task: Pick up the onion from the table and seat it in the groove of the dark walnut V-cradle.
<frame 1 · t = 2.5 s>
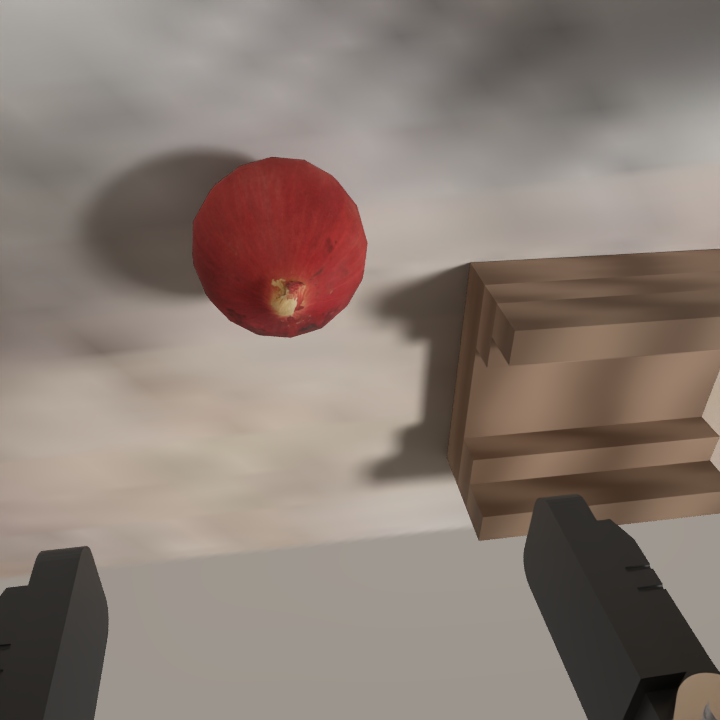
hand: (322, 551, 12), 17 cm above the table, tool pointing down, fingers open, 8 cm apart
onion: (274, 206, 26), on the table
walnut V-cradle: (578, 360, 32), on the table
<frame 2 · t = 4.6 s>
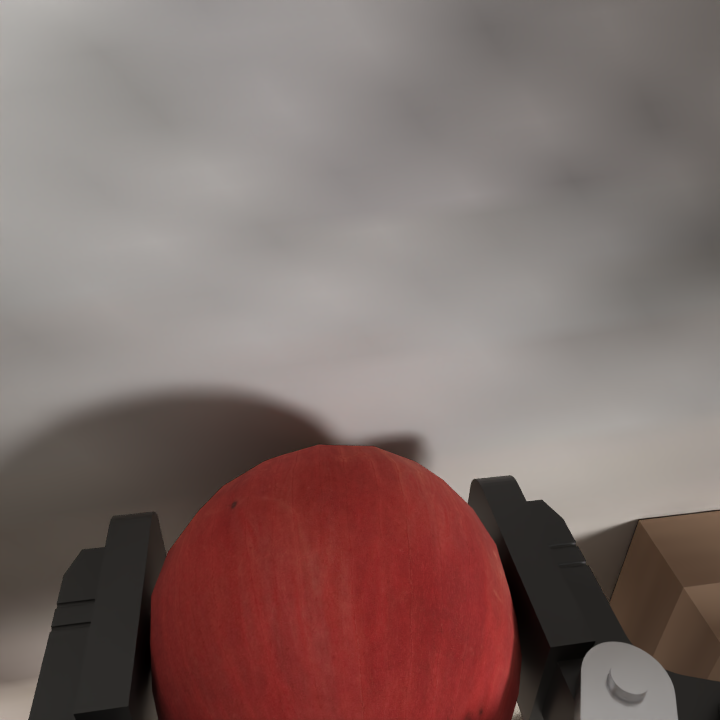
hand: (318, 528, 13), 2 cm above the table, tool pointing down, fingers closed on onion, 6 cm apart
onion: (311, 463, 14), on the table, touching gripper
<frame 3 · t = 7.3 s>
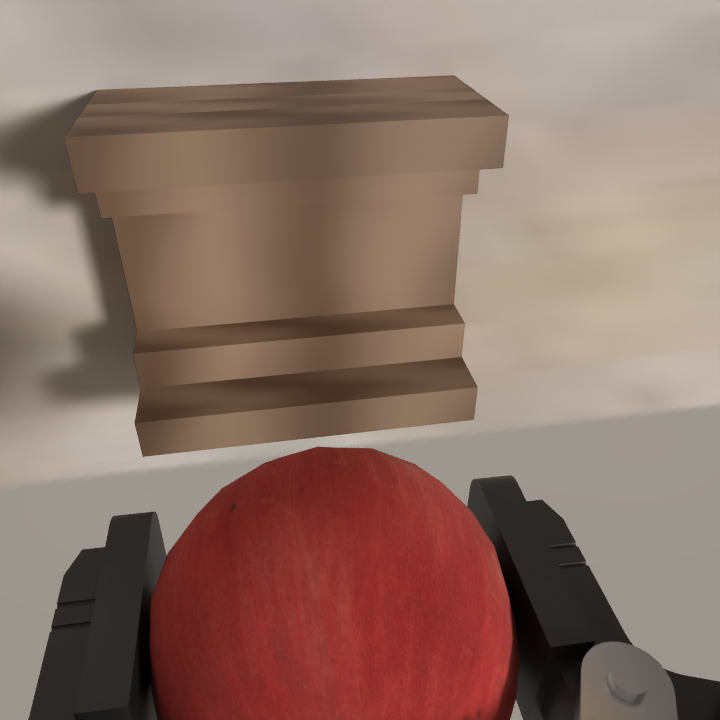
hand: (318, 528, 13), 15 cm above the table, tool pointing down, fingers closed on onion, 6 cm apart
onion: (311, 465, 14), point 14 cm above the table, touching gripper
walnut V-cradle: (292, 234, 26), on the table
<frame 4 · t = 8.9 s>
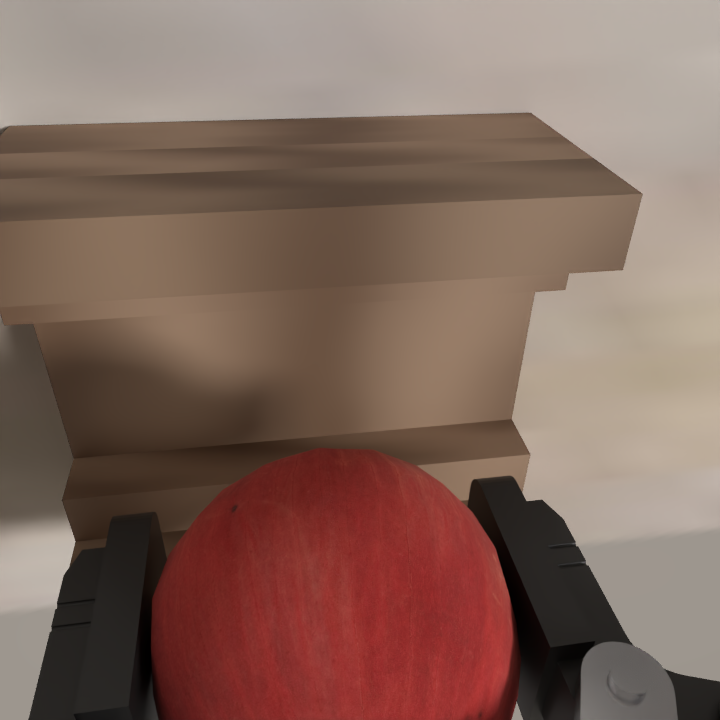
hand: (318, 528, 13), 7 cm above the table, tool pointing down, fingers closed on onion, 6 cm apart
onion: (311, 466, 14), point 6 cm above the table, touching gripper
walnut V-cradle: (293, 322, 19), on the table
when the fingers open (5 cm above the table, at t = 10.2 s): onion drops 2 cm, resting on walnut V-cradle.
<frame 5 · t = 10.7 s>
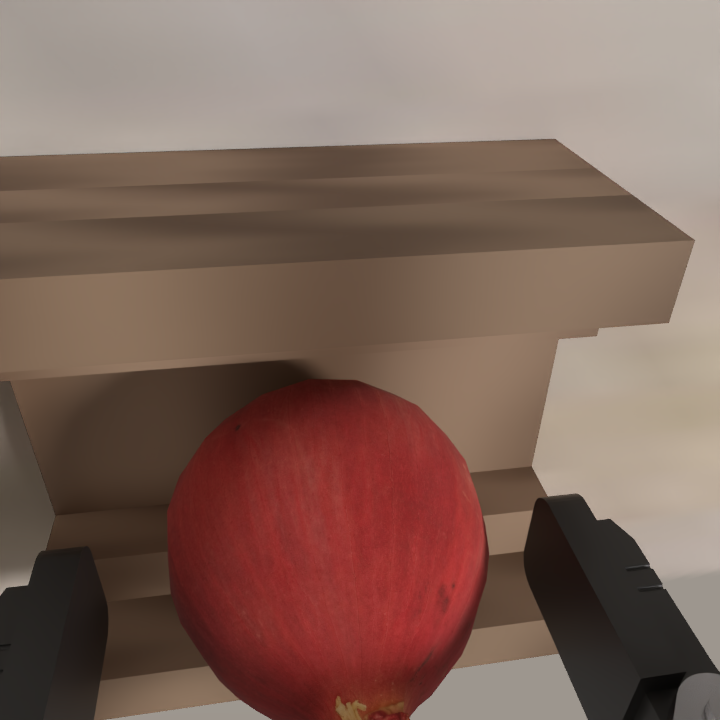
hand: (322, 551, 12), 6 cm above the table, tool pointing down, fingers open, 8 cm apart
onion: (301, 408, 16), point 2 cm above the table, touching walnut V-cradle
walnut V-cradle: (295, 363, 17), on the table
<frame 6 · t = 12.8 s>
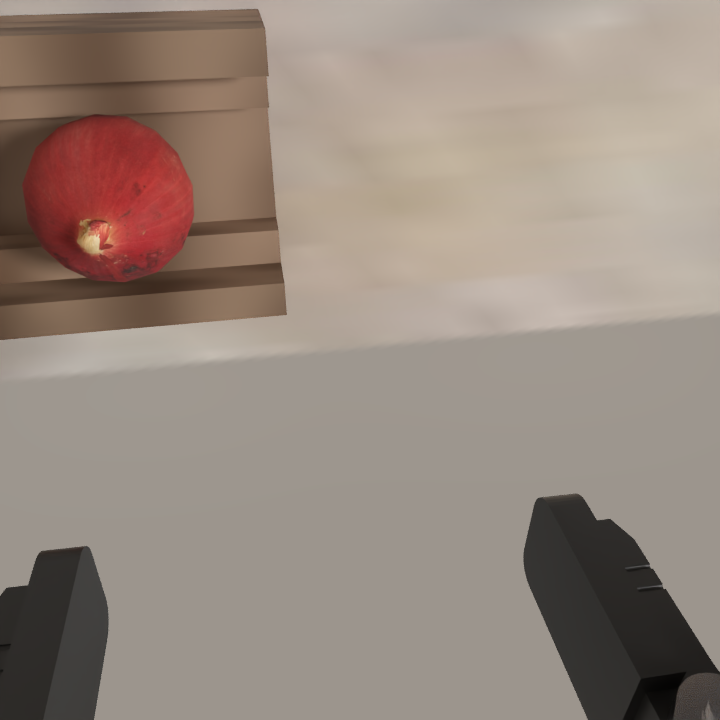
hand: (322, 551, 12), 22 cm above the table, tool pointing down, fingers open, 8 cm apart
onion: (125, 167, 28), point 2 cm above the table, touching walnut V-cradle
walnut V-cradle: (130, 154, 29), on the table
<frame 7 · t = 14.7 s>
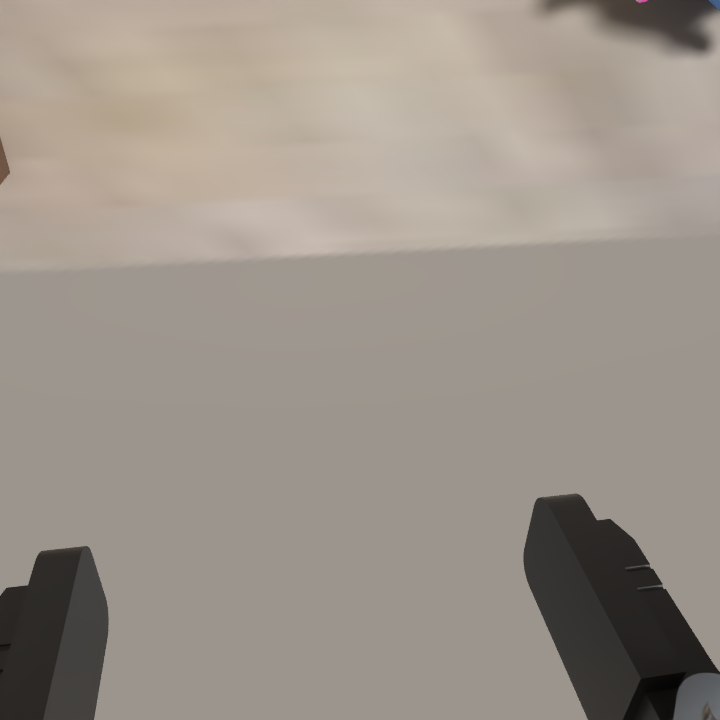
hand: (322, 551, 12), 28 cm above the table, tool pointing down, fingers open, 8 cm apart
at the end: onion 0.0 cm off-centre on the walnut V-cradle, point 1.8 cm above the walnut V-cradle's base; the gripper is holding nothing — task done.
